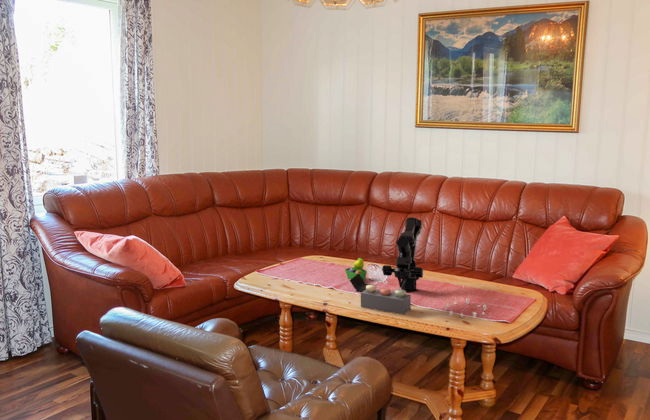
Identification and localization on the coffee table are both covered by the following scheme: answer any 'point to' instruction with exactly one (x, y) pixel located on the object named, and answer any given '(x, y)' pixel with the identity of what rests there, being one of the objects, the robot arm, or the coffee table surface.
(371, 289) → the cream button
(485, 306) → the game piece set
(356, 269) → the fruit basket
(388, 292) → the red button
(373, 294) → the button panel
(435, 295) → the coffee table surface
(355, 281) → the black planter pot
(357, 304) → the coffee table surface
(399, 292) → the green button
